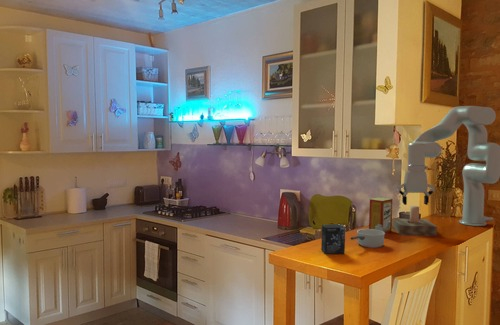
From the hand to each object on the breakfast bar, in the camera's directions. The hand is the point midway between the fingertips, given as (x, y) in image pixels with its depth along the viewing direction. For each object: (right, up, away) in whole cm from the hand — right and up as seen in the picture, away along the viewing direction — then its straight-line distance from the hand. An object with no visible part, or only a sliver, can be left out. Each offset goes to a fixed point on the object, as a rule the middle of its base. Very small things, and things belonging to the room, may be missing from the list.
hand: (415, 204), depth 199 cm
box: (-46, -16, -35) cm, 60 cm away
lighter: (-19, -14, -10) cm, 25 cm away
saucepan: (-31, -15, -27) cm, 44 cm away
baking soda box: (-17, -13, 0) cm, 21 cm away
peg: (0, -13, +1) cm, 13 cm away
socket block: (-1, -13, +1) cm, 13 cm away
